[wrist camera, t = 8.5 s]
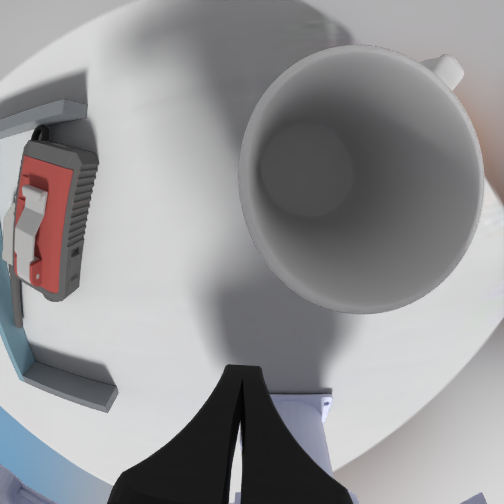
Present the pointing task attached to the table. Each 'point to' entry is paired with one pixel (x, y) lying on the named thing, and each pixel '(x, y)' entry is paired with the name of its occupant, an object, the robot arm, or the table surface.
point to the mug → (362, 177)
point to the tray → (3, 318)
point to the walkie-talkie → (48, 219)
